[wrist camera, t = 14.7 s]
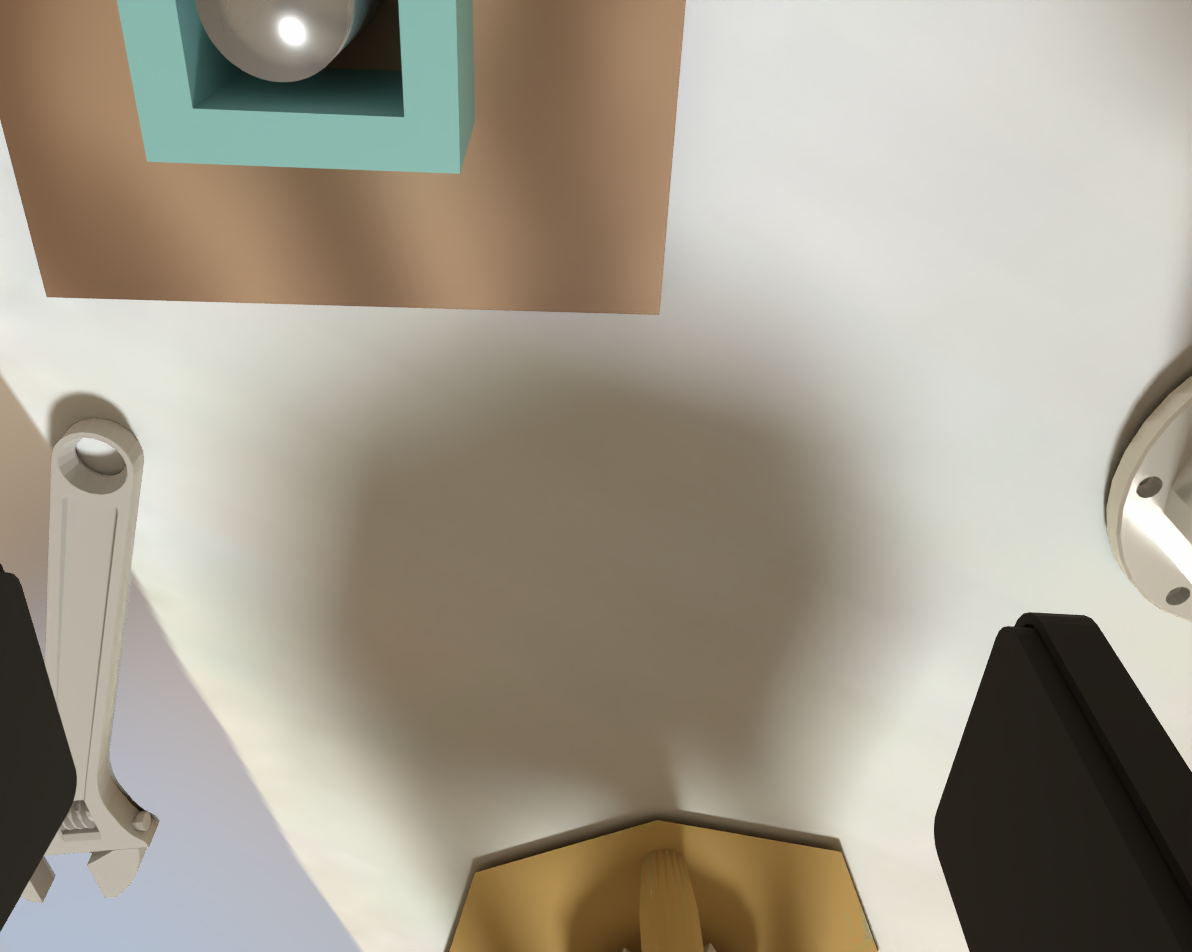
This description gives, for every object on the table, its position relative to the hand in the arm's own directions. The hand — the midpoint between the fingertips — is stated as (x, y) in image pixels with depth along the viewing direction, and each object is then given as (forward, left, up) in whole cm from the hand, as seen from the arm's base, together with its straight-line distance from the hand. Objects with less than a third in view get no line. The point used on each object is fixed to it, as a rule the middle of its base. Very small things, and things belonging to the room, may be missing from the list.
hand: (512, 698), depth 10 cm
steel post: (+5, -4, -21) cm, 22 cm away
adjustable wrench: (+17, +22, -23) cm, 36 cm away
